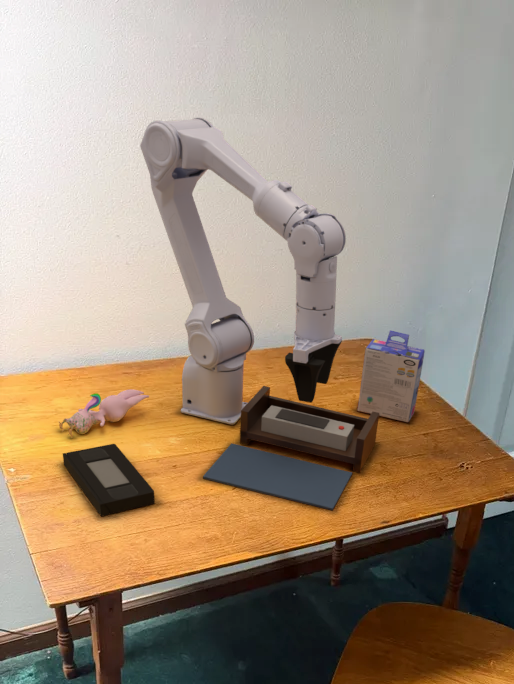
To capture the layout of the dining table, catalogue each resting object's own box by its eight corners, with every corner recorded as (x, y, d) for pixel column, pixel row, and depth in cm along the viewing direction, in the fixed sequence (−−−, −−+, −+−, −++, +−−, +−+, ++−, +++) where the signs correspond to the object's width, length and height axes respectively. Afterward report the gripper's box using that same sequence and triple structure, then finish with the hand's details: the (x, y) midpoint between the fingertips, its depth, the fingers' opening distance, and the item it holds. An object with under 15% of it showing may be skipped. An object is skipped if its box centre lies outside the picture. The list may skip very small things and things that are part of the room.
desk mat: (202, 478, 116) (202, 476, 116) (231, 445, 125) (231, 443, 125) (332, 510, 114) (332, 508, 114) (352, 474, 123) (352, 472, 123)
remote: (261, 431, 125) (261, 415, 123) (270, 419, 129) (271, 403, 127) (345, 451, 124) (347, 435, 122) (352, 438, 127) (354, 423, 126)
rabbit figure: (79, 450, 120) (160, 410, 128) (70, 417, 115) (154, 378, 124) (56, 434, 122) (136, 395, 131) (46, 401, 118) (129, 364, 127)
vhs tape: (115, 455, 118) (114, 443, 116) (155, 503, 109) (154, 491, 108) (64, 465, 113) (62, 453, 112) (101, 516, 105) (100, 504, 104)
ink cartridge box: (415, 411, 145) (428, 336, 136) (409, 424, 140) (423, 347, 132) (363, 399, 145) (373, 324, 137) (356, 411, 141) (366, 334, 133)
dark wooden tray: (239, 443, 126) (240, 410, 122) (261, 417, 134) (263, 385, 130) (359, 473, 124) (364, 439, 121) (374, 444, 132) (379, 412, 129)
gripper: (328, 323, 108) (324, 414, 115) (354, 294, 120) (350, 378, 127) (278, 315, 109) (279, 406, 116) (310, 288, 121) (308, 371, 128)
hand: (313, 391), depth 122 cm, fingers open, 7 cm apart
